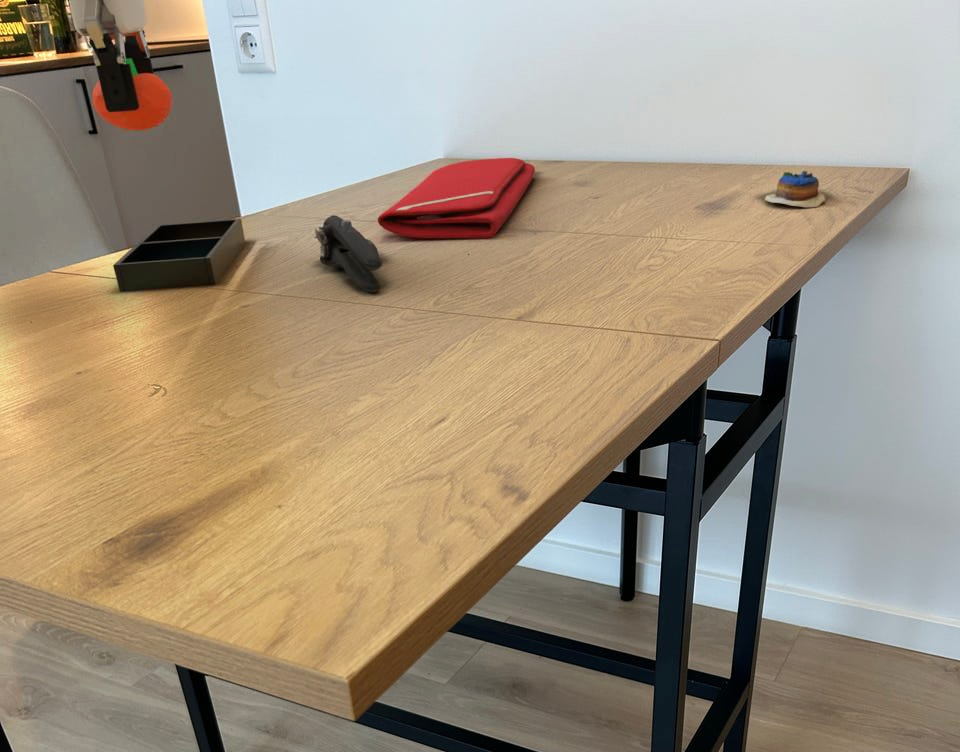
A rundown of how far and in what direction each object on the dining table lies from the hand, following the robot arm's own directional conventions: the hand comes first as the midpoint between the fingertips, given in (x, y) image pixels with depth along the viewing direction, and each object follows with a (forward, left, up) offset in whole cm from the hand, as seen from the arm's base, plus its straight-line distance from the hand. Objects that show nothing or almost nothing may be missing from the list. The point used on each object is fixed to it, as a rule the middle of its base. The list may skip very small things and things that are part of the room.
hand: (133, 104), depth 103 cm
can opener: (+21, -2, -19) cm, 28 cm away
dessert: (+76, +20, -19) cm, 81 cm away
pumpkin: (0, 0, -3) cm, 3 cm away
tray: (0, +8, -18) cm, 20 cm away
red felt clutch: (+34, +34, -19) cm, 51 cm away
